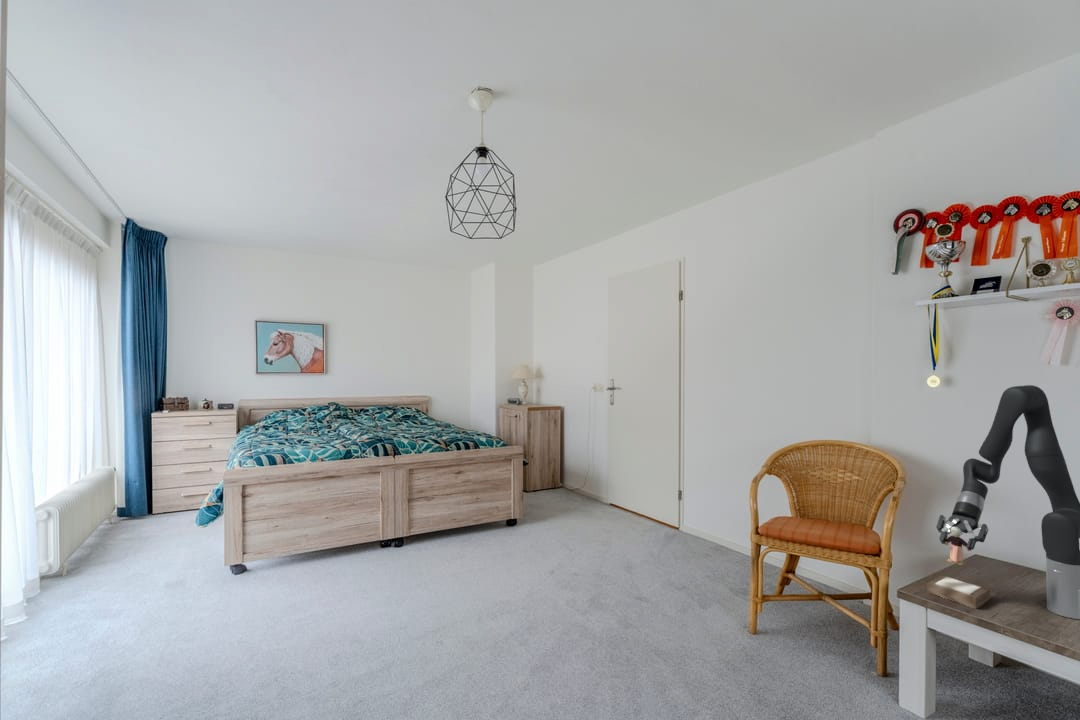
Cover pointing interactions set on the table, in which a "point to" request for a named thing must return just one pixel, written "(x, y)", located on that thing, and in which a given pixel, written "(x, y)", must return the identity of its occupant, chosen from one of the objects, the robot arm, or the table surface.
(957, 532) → the grandmother figurine
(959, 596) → the stand
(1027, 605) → the table surface
